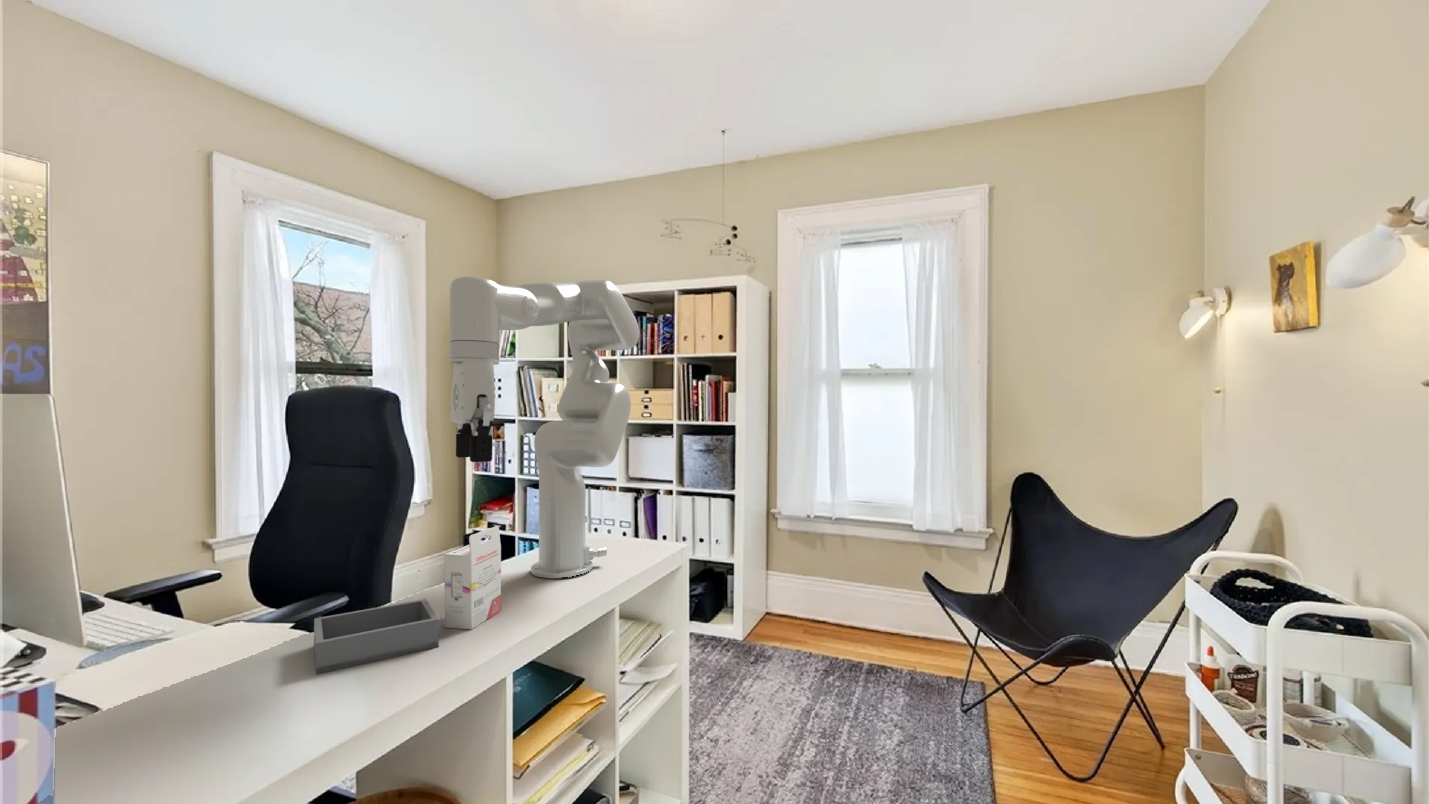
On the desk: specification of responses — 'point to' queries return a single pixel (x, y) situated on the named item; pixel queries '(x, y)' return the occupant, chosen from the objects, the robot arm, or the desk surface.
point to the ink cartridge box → (473, 581)
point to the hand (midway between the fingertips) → (473, 459)
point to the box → (374, 634)
